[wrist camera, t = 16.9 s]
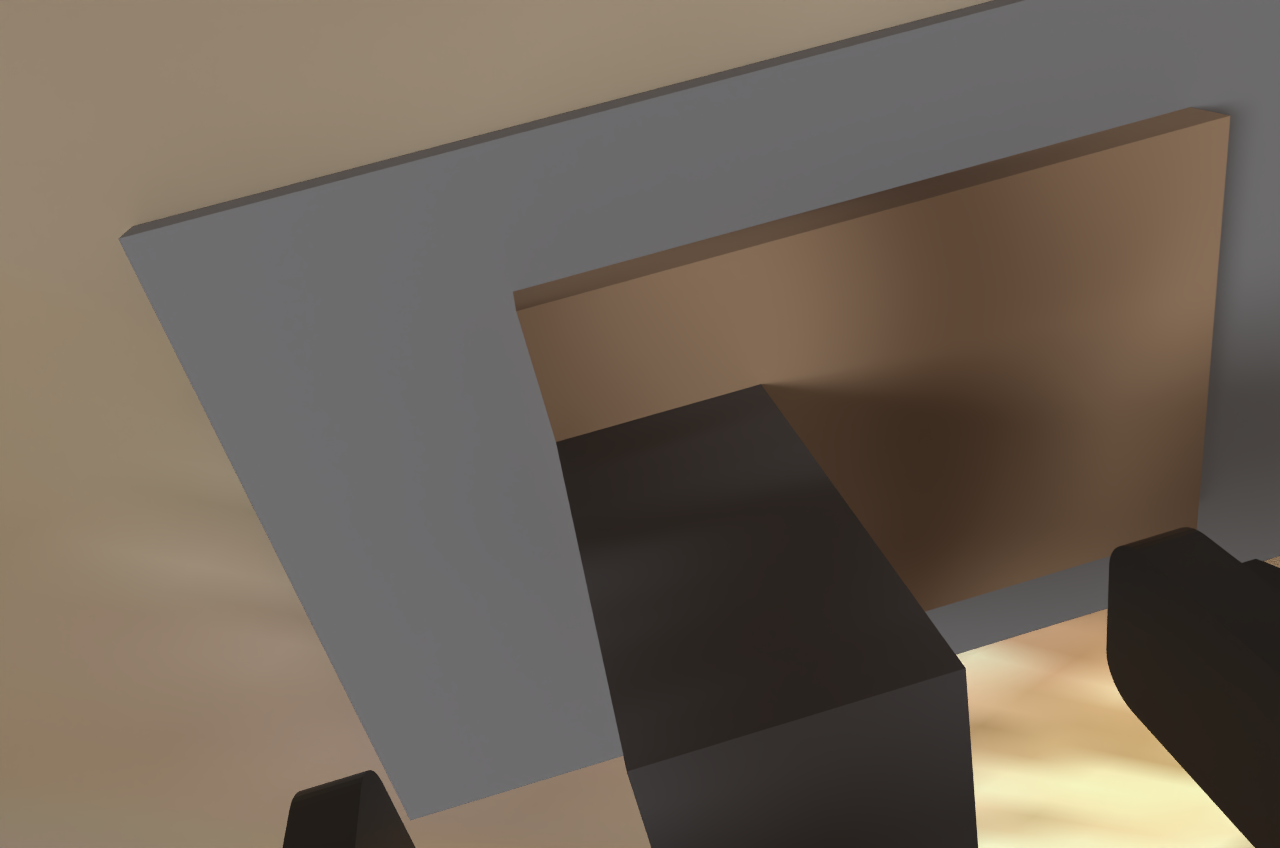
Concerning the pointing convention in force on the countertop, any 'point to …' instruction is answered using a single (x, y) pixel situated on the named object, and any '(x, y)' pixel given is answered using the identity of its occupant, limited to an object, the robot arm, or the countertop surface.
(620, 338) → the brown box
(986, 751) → the countertop surface
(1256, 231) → the mat
